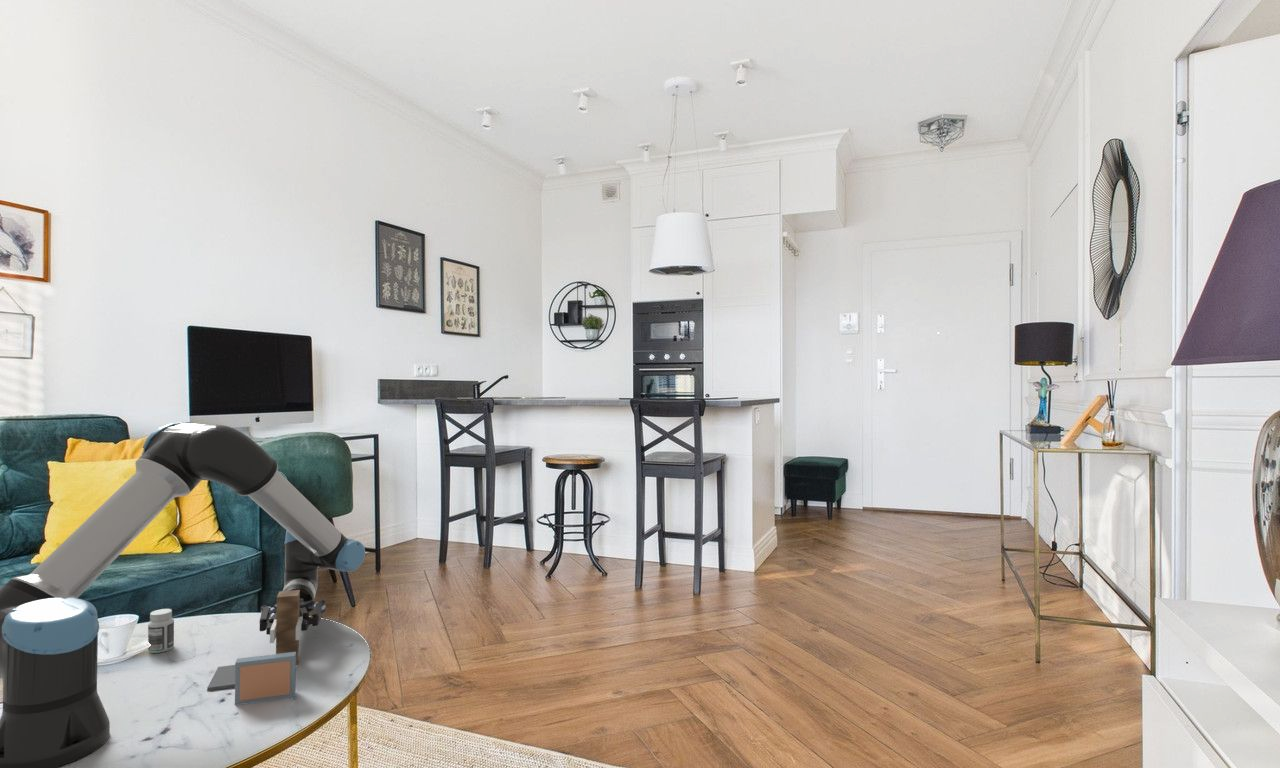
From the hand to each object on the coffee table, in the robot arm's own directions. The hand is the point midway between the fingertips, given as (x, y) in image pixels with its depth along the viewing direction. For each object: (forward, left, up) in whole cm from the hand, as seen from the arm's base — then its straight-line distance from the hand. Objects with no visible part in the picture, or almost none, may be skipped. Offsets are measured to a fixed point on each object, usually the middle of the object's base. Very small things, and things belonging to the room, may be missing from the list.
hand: (284, 635), depth 139 cm
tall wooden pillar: (0, +5, -8) cm, 10 cm away
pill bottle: (-27, +22, -8) cm, 36 cm away
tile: (-2, -11, -8) cm, 14 cm away
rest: (-8, +1, -8) cm, 11 cm away
